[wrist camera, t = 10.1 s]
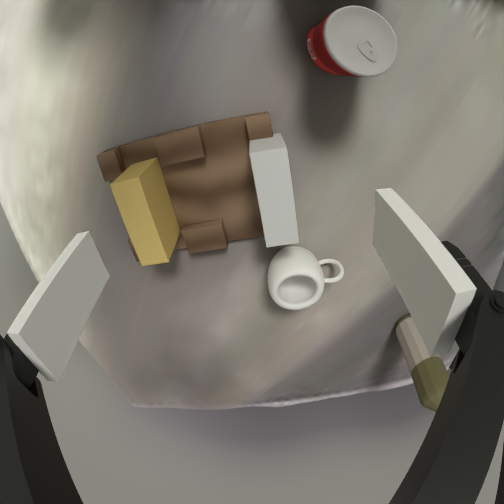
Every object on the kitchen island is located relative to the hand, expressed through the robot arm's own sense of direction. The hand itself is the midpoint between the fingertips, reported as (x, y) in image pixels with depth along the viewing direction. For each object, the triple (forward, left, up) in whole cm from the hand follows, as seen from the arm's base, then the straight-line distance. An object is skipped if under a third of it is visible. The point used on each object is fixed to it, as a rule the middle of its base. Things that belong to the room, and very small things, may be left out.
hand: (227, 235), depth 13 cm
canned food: (-9, +13, -29) cm, 34 cm away
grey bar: (+8, +2, -28) cm, 30 cm away
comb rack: (+8, -9, -29) cm, 31 cm away
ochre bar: (+8, -14, -28) cm, 33 cm away
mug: (+23, +5, -30) cm, 38 cm away
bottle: (+44, +27, -29) cm, 60 cm away
